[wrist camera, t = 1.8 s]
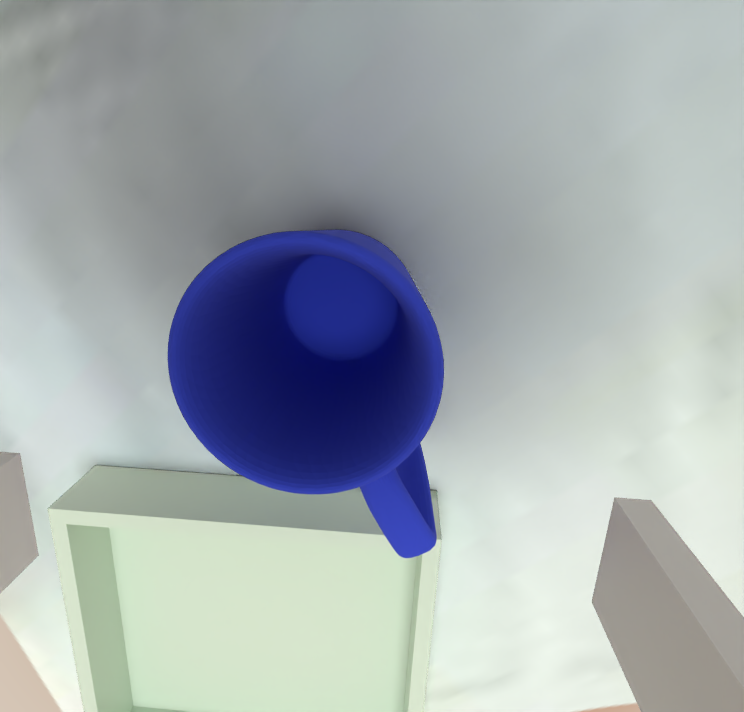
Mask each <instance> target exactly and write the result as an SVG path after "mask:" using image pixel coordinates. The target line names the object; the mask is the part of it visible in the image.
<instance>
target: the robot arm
mask: <svg viewBox="0 0 744 712" xmlns="http://www.w3.org/2000/svg"><path fill="white" fill-rule="evenodd" d="M37 556H39V555H38V549H37V544H36V538H35V533H34V527H33V522H32V516H31V511H30V505H29V500H28V494H27V489H26V484H25V478H24V473H23V467H22V462H21V456H20V453H8V452H0V593H1V592H2V591H3V590H4V589H5V588H6V587H7V586H8V585H9V584H10V583H11V582H12V581H13V580H14V579H15V578H16V577H17V576H18V575H19V574H20V573H21V572H22V571H23V570H24V569H25V568H26V567H27V566H28V565H29V564H30V563H31V562H32V561H33V560H34V559H35V558H36V557H37ZM592 603H593V606H594V608H595V610H596V612H597V615H598V617H599V619H600V621H601V623H602V626H603V628H604V630H605V632H606V635H607V637H608V639H609V641H610V643H611V646H612V648H613V650H614V652H615V655H616V657H617V659H618V661H619V663H620V666H621V668H622V670H623V672H624V675H625V677H626V679H627V681H628V683H629V686H630V688H631V690H632V692H633V695H634V697H635V699H636V701H637V703H638V706H639V708H640V710H641V712H744V617H743V616H742V615H741V614H740V612H739V611H738V610H737V608H736V607H735V606H734V605H733V603H732V602H731V601H730V600H729V598H728V597H727V596H726V594H725V593H724V592H723V591H722V589H721V588H720V587H719V586H718V584H717V583H716V582H715V581H714V579H713V578H712V577H711V575H710V574H709V573H708V572H707V570H706V569H705V568H704V567H703V565H702V564H701V563H700V562H699V560H698V559H697V558H696V556H695V555H694V554H693V553H692V551H691V550H690V549H689V548H688V546H687V545H686V544H685V542H684V541H683V540H682V539H681V537H680V536H679V535H678V534H677V532H676V531H675V530H674V529H673V527H672V526H671V525H670V523H669V522H668V521H667V520H666V518H665V517H664V516H663V515H662V513H661V512H660V511H659V509H658V508H657V507H656V506H655V504H654V503H653V502H652V501H651V500H641V499H627V498H614V502H613V507H612V511H611V516H610V520H609V525H608V530H607V534H606V539H605V543H604V548H603V552H602V557H601V562H600V566H599V571H598V575H597V580H596V584H595V589H594V594H593V598H592Z"/></svg>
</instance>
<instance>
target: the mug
mask: <svg viewBox="0 0 744 712" xmlns="http://www.w3.org/2000/svg"><path fill="white" fill-rule="evenodd" d="M168 368H169V376H170V381H171V386H172V390H173V393H174V396H175V399H176V402H177V404H178V406H179V409H180V411H181V413H182V415H183V417H184V419H185V420H186V422H187V424H188V425H189V427H190V429H191V430H192V431H193V433H194V434H195V435H196V437H197V438H198V439H199V441H200V442H201V443H202V444H203V445H204V446H205V447H206V448H207V450H208V451H209V452H211V453H212V454H213V455H214V456H215V457H216V458H217V459H218V460H220V461H221V462H222V463H223V464H225V465H226V466H227V467H229V468H230V469H232V470H233V471H235V472H237V473H238V474H240V475H242V476H244V477H245V478H247V479H249V480H252V481H254V482H256V483H258V484H261V485H264V486H266V487H269V488H272V489H276V490H280V491H285V492H290V493H297V494H331V493H338V492H343V491H347V490H351V489H355V488H358V487H360V489H361V492H362V494H363V497H364V499H365V501H366V503H367V505H368V508H369V510H370V512H371V513H372V515H373V517H374V518H375V520H376V522H377V523H378V525H379V527H380V529H381V530H382V532H383V534H384V535H385V537H386V538H387V540H388V541H389V543H390V544H391V546H392V547H393V549H394V550H395V551H396V553H397V554H398V555H399V556H401V557H403V558H413V557H416V556H419V555H422V554H424V553H426V552H428V551H430V550H431V549H432V548H433V547H434V546H435V544H436V541H437V535H436V528H435V521H434V514H433V506H432V499H431V492H430V486H429V481H428V476H427V470H426V465H425V460H424V456H423V452H422V448H421V444H420V442H421V441H422V439H423V438H424V437H425V435H426V433H427V432H428V430H429V428H430V426H431V424H432V422H433V420H434V418H435V415H436V412H437V409H438V406H439V403H440V399H441V394H442V389H443V378H444V359H443V352H442V346H441V342H440V337H439V334H438V331H437V328H436V325H435V322H434V320H433V317H432V315H431V313H430V311H429V309H428V307H427V306H426V304H425V302H424V300H423V298H422V296H421V295H420V293H419V291H418V289H417V287H416V286H415V284H414V282H413V280H412V278H411V277H410V275H409V273H408V271H407V270H406V268H405V266H404V265H403V263H402V262H401V261H400V260H399V258H398V257H397V256H396V255H395V254H394V253H393V252H392V251H391V250H390V249H389V248H387V247H386V246H385V245H383V244H382V243H380V242H379V241H377V240H375V239H373V238H371V237H369V236H367V235H364V234H361V233H358V232H354V231H348V230H310V231H286V232H277V233H272V234H267V235H263V236H259V237H256V238H253V239H250V240H247V241H245V242H243V243H240V244H238V245H236V246H234V247H232V248H230V249H229V250H227V251H226V252H224V253H223V254H221V255H220V256H218V257H217V258H215V259H214V260H213V261H212V262H211V263H209V264H208V265H207V266H206V267H205V268H204V269H203V270H202V271H201V272H200V273H199V274H198V275H197V276H196V278H195V279H194V280H193V282H192V283H191V284H190V286H189V287H188V288H187V290H186V292H185V293H184V295H183V297H182V299H181V301H180V303H179V305H178V307H177V310H176V313H175V315H174V318H173V321H172V325H171V329H170V335H169V342H168Z"/></svg>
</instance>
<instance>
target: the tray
mask: <svg viewBox="0 0 744 712" xmlns="http://www.w3.org/2000/svg"><path fill="white" fill-rule="evenodd" d="M430 492H431V499H432V506H433V514H434V521H435V528H436V535H437V541H436V544H435V546H434V547H433V548H432V549H431V550H430V551H428V552H426V553H424V554H422V555H419V556H416V557H413V558H403V557H401V556H399V555H398V554H397V553H396V551H395V550H394V549H393V547H392V546H391V544H390V543H389V541H388V540H387V538H386V537H385V535H384V534H383V532H382V530H381V529H380V527H379V525H378V523H377V522H376V520H375V518H374V517H373V515H372V513H371V512H370V510H369V508H368V505H367V503H366V501H365V499H364V497H363V494H362V492H361V489H360V487H358V488H355V489H351V490H347V491H343V492H338V493H331V494H297V493H290V492H285V491H280V490H276V489H272V488H269V487H266V486H264V485H261V484H258V483H256V482H254V481H252V480H249V479H247V478H245V477H244V476H233V475H220V474H207V473H193V472H180V471H167V470H153V469H140V468H126V467H113V466H100V465H95V466H94V467H93V468H92V469H91V470H90V471H89V472H87V473H86V474H85V475H84V476H83V477H82V478H81V479H80V480H79V481H77V482H76V483H75V484H74V485H73V486H72V487H71V488H70V489H69V490H67V491H66V492H65V493H64V494H63V495H62V496H61V497H60V498H59V499H57V500H56V501H55V502H54V503H53V504H52V505H51V506H50V507H49V508H47V509H48V514H49V520H50V526H51V531H52V537H53V542H54V548H55V554H56V559H57V565H58V570H59V576H60V581H61V587H62V593H63V598H64V604H65V609H66V615H67V621H68V626H69V632H70V637H71V643H72V648H73V654H74V660H75V665H76V671H77V676H78V682H79V687H80V693H81V699H82V704H83V710H84V712H424V702H425V693H426V683H427V674H428V664H429V655H430V645H431V635H432V626H433V616H434V607H435V597H436V588H437V578H438V569H439V559H440V550H441V540H442V539H441V529H440V519H439V509H438V498H437V491H434V490H430Z"/></svg>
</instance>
